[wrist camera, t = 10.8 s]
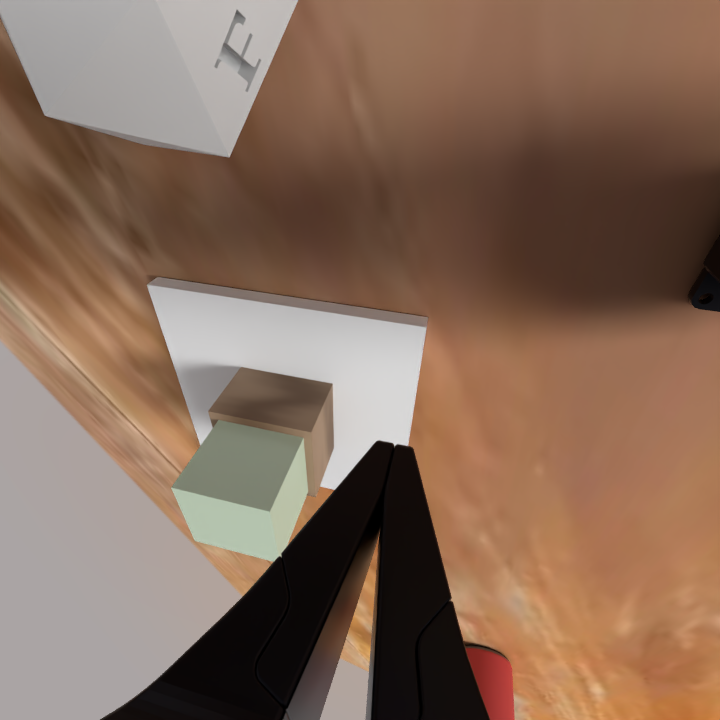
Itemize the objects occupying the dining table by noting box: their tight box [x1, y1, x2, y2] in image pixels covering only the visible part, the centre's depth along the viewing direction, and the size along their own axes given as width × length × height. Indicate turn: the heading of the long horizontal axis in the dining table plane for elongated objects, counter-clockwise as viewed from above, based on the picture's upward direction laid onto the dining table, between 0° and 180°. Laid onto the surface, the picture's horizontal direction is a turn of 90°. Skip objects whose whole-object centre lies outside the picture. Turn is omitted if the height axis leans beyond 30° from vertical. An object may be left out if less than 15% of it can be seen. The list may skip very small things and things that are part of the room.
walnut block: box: [208, 367, 334, 497], centre depth 25 cm, size 6×6×4 cm
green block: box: [171, 420, 308, 562], centre depth 22 cm, size 5×5×4 cm
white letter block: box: [0, 0, 298, 157], centre depth 13 cm, size 8×9×10 cm
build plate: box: [147, 277, 428, 490], centre depth 27 cm, size 16×16×1 cm
